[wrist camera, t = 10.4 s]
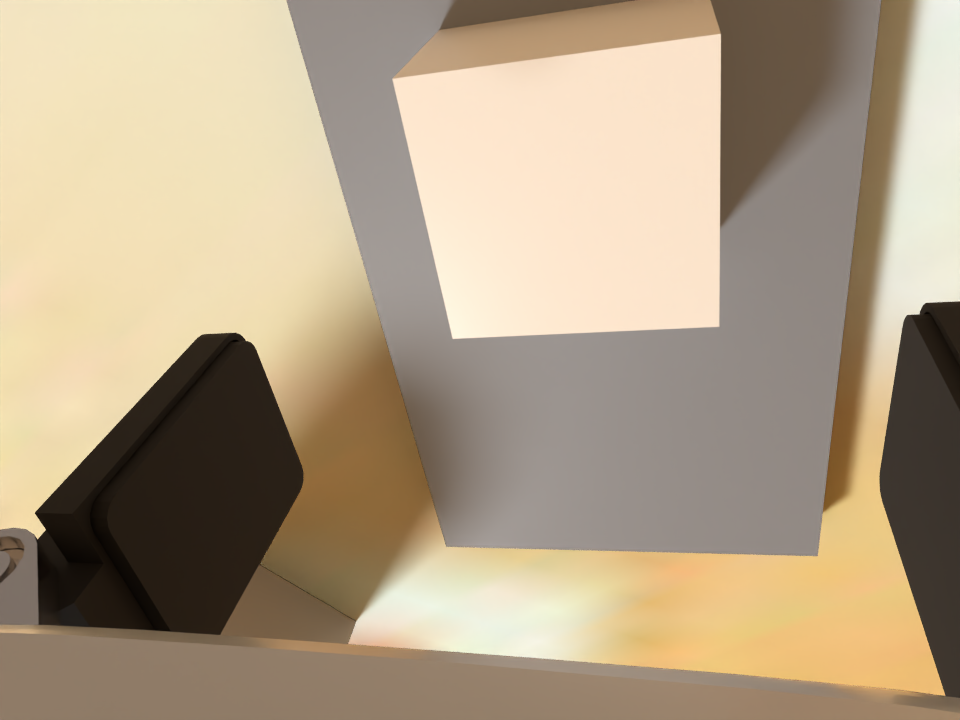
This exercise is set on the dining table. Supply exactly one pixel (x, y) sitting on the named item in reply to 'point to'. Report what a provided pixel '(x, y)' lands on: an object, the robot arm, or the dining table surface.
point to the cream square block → (571, 168)
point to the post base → (626, 354)
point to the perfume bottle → (285, 613)
